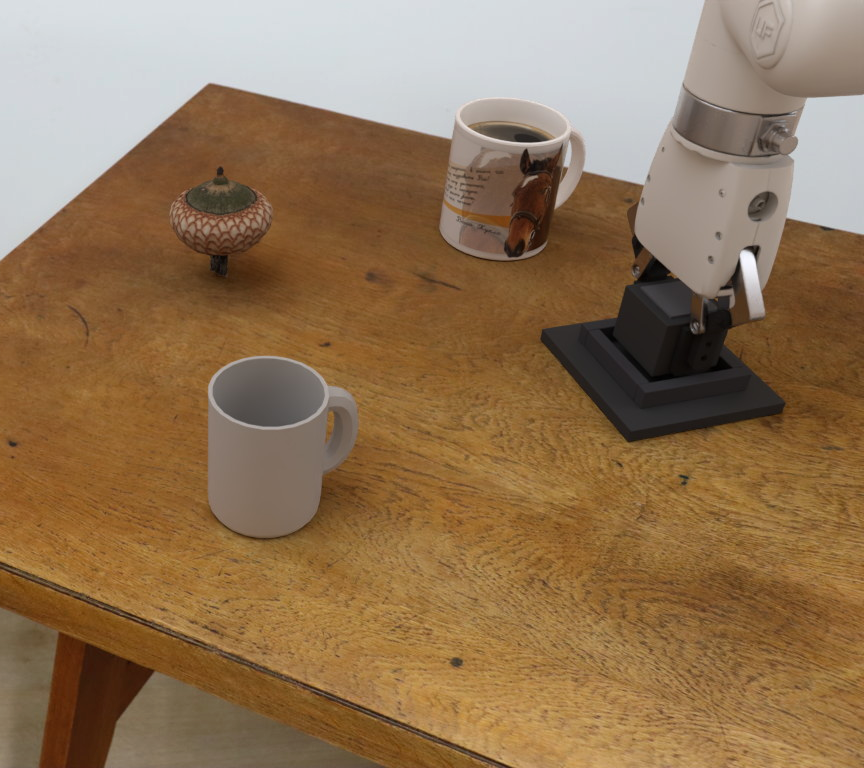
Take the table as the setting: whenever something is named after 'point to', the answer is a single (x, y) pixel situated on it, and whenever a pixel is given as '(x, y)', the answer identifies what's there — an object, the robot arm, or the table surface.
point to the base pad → (657, 385)
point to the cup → (273, 443)
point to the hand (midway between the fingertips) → (665, 344)
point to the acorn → (220, 219)
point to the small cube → (656, 322)
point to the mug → (507, 176)
